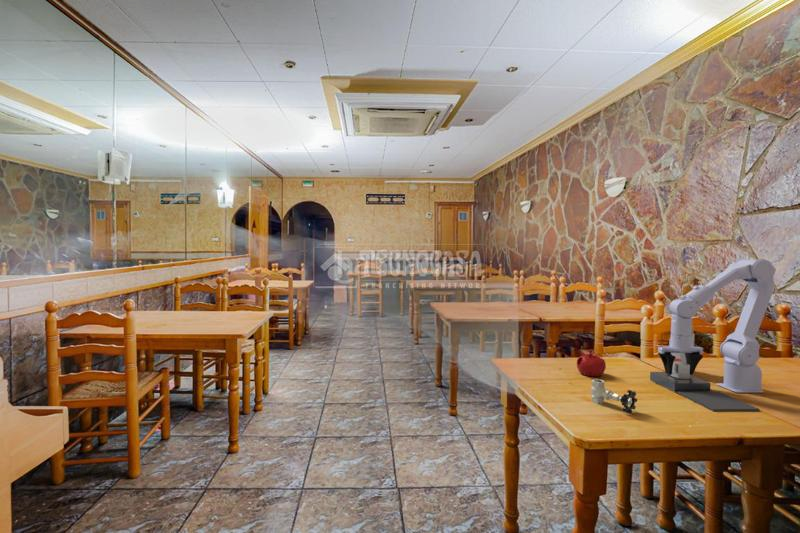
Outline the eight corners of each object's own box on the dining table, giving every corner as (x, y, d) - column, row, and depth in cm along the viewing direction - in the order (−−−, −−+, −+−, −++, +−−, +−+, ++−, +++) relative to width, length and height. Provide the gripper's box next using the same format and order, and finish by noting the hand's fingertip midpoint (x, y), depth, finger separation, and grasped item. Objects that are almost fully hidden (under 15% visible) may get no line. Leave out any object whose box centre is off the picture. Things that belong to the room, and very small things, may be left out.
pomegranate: (609, 374, 146) (610, 350, 146) (599, 380, 139) (600, 354, 139) (582, 368, 153) (583, 345, 153) (571, 373, 147) (572, 349, 146)
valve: (584, 401, 120) (624, 416, 109) (585, 380, 119) (625, 393, 109) (597, 397, 123) (637, 411, 113) (598, 377, 123) (637, 388, 113)
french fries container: (666, 372, 149) (668, 326, 148) (679, 368, 155) (681, 323, 154) (679, 376, 145) (681, 328, 144) (693, 371, 151) (695, 325, 150)
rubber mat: (718, 393, 128) (718, 391, 128) (759, 411, 114) (759, 408, 114) (677, 393, 127) (677, 391, 127) (713, 411, 113) (713, 409, 113)
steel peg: (680, 384, 136) (680, 361, 136) (688, 388, 132) (689, 364, 132) (668, 384, 136) (669, 361, 136) (677, 388, 132) (678, 364, 132)
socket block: (682, 380, 141) (682, 371, 141) (710, 392, 129) (710, 383, 129) (650, 380, 140) (650, 371, 140) (674, 392, 128) (675, 383, 128)
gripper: (692, 332, 138) (690, 370, 139) (652, 332, 137) (650, 370, 138) (708, 336, 131) (707, 376, 131) (666, 336, 130) (665, 376, 131)
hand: (679, 373), depth 134 cm, fingers open, 7 cm apart
